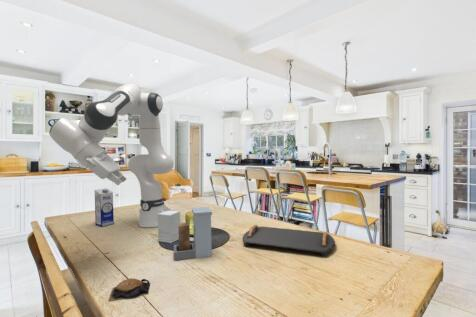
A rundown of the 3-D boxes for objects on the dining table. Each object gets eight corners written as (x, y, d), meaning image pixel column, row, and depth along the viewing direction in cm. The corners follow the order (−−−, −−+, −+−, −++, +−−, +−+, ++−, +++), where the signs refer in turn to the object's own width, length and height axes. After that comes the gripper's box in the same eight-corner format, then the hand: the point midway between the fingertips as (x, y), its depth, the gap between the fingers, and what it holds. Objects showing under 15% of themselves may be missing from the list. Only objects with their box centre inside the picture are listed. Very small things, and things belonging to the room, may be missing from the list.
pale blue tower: (174, 261, 94) (172, 214, 93) (173, 252, 102) (172, 209, 102) (212, 256, 97) (212, 211, 97) (209, 248, 106) (208, 206, 105)
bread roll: (107, 305, 69) (106, 291, 69) (113, 288, 77) (112, 276, 77) (149, 297, 72) (148, 284, 72) (150, 282, 80) (149, 271, 80)
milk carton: (108, 222, 148) (106, 187, 147) (114, 224, 144) (113, 188, 143) (95, 225, 142) (94, 189, 141) (101, 227, 138) (100, 190, 137)
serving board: (335, 240, 114) (335, 226, 114) (334, 261, 93) (334, 244, 93) (253, 231, 129) (253, 218, 129) (236, 247, 107) (235, 232, 107)
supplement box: (181, 238, 119) (180, 211, 118) (170, 243, 112) (170, 215, 111) (168, 236, 122) (168, 210, 121) (157, 241, 115) (157, 213, 115)
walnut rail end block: (179, 257, 97) (178, 226, 96) (179, 253, 101) (178, 223, 100) (190, 256, 98) (189, 225, 97) (189, 252, 102) (188, 222, 101)
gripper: (90, 149, 82) (124, 178, 85) (105, 150, 102) (132, 173, 105) (75, 163, 81) (109, 192, 84) (93, 161, 101) (121, 184, 104)
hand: (122, 182), depth 94 cm, fingers open, 8 cm apart
